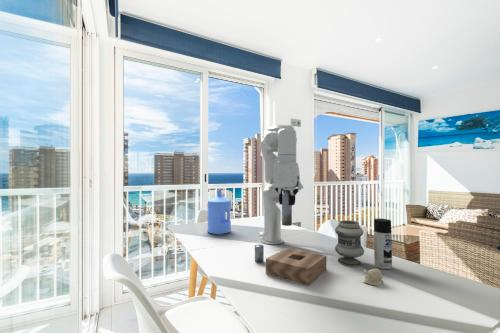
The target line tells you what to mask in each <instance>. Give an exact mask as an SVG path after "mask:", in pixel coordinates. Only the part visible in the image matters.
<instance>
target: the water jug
mask: <svg viewBox="0 0 500 333" xmlns="http://www.w3.org/2000/svg"><path fill="white" fill-rule="evenodd" d="M216 191H217V192H216V196H214V197H212V198H211V199H209V200H207V218H206V219H207V230H206V231H207V233H208V232H209V234H210V233H215V234H214V235H224V234H223V233H227V234H229V233H231V231H232V226H231V225H232V222H231V221H232V220H231V210H232V202H231V199H228V198H227V197H224V196H223V195H222V193H223V192H222V189H216ZM226 213H227V214H226ZM226 218H227V219H226ZM228 232H229V233H228Z"/></svg>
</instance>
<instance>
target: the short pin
mask: <svg viewBox="0 0 500 333" xmlns="http://www.w3.org/2000/svg"><path fill="white" fill-rule="evenodd" d="M264 248H265V247H264V244H255V245H254V262H255V263H257V264H262V263H265V262H264V260H265V259H264V256H265V255H264V254H265V253H264V252H265V250H264Z"/></svg>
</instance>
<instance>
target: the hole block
mask: <svg viewBox="0 0 500 333" xmlns="http://www.w3.org/2000/svg"><path fill="white" fill-rule="evenodd" d="M326 271H327V255H325V254H321V253H315V252H312V251H306V250H301V249H296V248H291V247H285V248H284V249H282V250H279V251H278V252H275V253H274V254H272V255H270V256H268V257H266V258H265V274H266V275H269V276H272V277H276V278H279V279H283V280H286V281H290V282H293V283H297V284H300V285H304V286H307V287H309V286H310V285H311V284H313V283H314V282H315V281H316V280H317V279H318V278H319V277H320V276H321V275H323V274H324V273H326Z"/></svg>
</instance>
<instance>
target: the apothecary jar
mask: <svg viewBox="0 0 500 333" xmlns="http://www.w3.org/2000/svg"><path fill="white" fill-rule="evenodd" d="M334 231H335V232H334V233H335V234H337V244H336V245H335V247H334V250H335V252H336V253H337V254H338V255H340V256H341V257H339V258H337V262H338V263H339V264H341V265H345V266H347V267H359V266H361V265H362V261H361V260H359V259H358V258H360V257H362V256H364V254H365V249H364V247H363V246H362V242H361V239H362V238H361V237H362V236H363V235H364V229H363V228H362V227H361V226H360V223H359V221H357V220H356V221H355V220H346V219H345V220H340V221H339V222H338V225H337V226H336V227H335V229H334Z"/></svg>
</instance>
